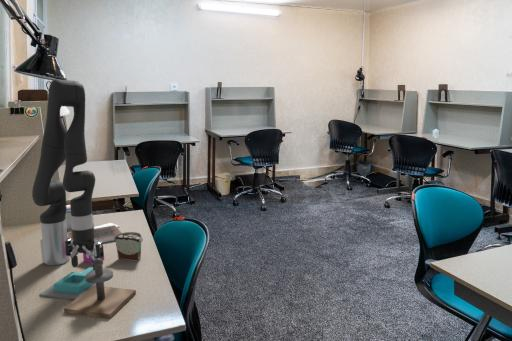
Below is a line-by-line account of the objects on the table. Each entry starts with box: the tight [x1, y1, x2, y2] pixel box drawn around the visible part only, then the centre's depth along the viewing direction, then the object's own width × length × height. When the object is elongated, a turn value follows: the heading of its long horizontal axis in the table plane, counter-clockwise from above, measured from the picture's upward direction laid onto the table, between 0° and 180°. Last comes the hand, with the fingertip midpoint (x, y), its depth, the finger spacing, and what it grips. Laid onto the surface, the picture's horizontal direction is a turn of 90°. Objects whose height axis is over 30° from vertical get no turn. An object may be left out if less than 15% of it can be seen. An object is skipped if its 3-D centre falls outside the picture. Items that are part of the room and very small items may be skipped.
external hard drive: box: [94, 222, 120, 229], centre depth 213 cm, size 2×8×12 cm
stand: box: [63, 258, 137, 319], centre depth 138 cm, size 16×16×16 cm
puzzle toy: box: [82, 246, 105, 265], centre depth 174 cm, size 6×6×6 cm
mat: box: [38, 281, 96, 301], centre depth 151 cm, size 15×16×1 cm
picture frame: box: [67, 225, 122, 249], centre depth 199 cm, size 16×2×22 cm
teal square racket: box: [53, 266, 94, 294], centre depth 153 cm, size 10×15×2 cm, turn 167°
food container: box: [114, 231, 144, 262], centre depth 176 cm, size 12×6×10 cm, turn 74°
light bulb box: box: [66, 204, 71, 230], centre depth 218 cm, size 11×7×11 cm, turn 130°
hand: (85, 267), depth 157 cm, fingers open, 8 cm apart
